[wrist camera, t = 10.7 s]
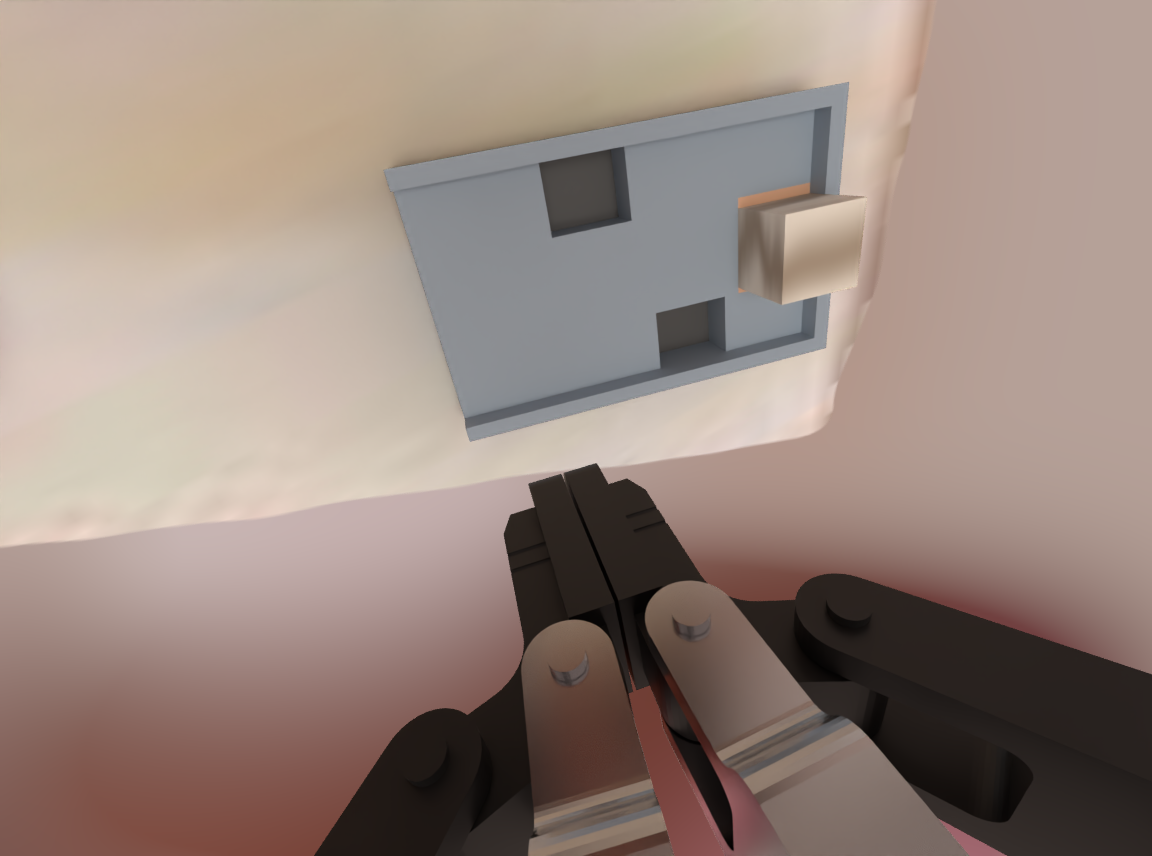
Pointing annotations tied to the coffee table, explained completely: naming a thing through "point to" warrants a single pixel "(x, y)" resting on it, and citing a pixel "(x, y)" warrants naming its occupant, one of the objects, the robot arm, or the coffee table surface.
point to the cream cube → (800, 246)
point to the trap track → (613, 255)
